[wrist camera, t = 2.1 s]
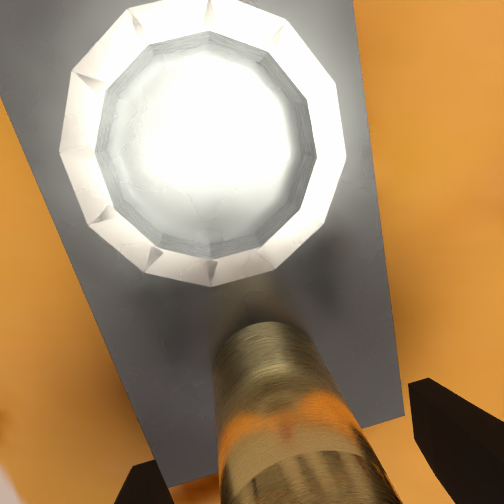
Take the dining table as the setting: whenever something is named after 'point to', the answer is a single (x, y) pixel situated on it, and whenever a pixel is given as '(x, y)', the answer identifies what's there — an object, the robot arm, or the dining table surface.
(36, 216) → the dining table surface
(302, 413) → the brass fitting
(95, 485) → the dining table surface
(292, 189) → the pipe plate
